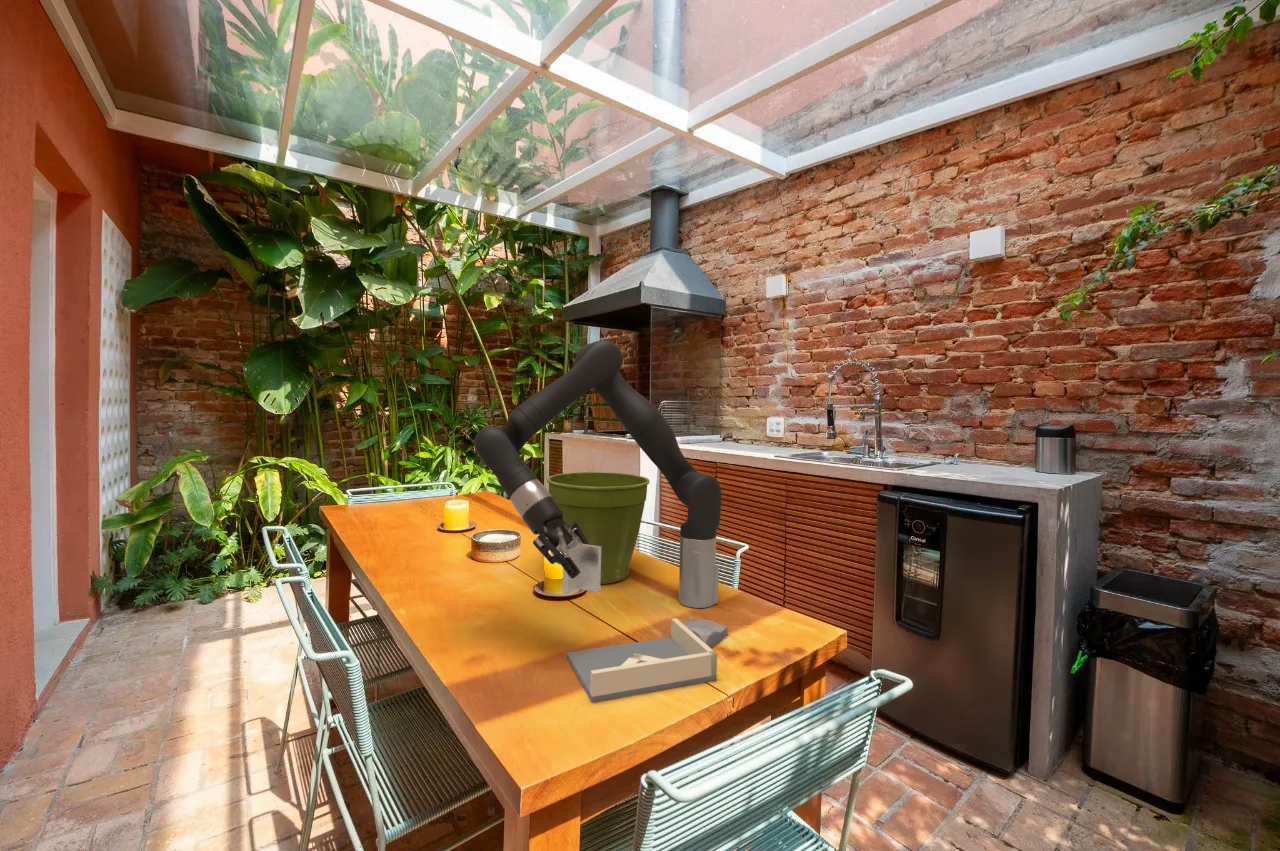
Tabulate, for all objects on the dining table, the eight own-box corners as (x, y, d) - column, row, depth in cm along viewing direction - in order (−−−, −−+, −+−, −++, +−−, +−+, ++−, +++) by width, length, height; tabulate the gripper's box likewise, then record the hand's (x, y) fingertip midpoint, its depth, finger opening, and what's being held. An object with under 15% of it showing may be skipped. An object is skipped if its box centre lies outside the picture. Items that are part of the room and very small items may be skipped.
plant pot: (524, 575, 165) (525, 477, 164) (596, 555, 188) (598, 469, 187) (597, 600, 146) (598, 489, 145) (668, 575, 169) (670, 479, 167)
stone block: (665, 649, 121) (708, 653, 116) (664, 626, 122) (706, 629, 117) (690, 639, 131) (731, 642, 126) (689, 617, 132) (729, 619, 127)
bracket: (577, 585, 118) (578, 543, 118) (600, 590, 116) (601, 546, 115) (562, 593, 113) (563, 548, 113) (586, 598, 111) (587, 552, 110)
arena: (676, 641, 122) (676, 618, 122) (716, 680, 106) (717, 653, 105) (566, 657, 114) (567, 632, 114) (592, 702, 97) (592, 673, 97)
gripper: (526, 499, 111) (577, 569, 106) (566, 490, 124) (613, 552, 119) (504, 523, 113) (553, 593, 109) (545, 512, 126) (590, 573, 122)
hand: (584, 571), depth 114 cm, fingers closed on bracket, 5 cm apart
